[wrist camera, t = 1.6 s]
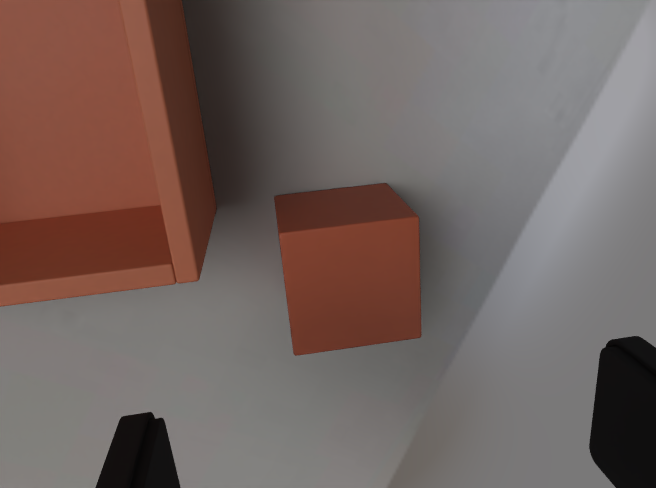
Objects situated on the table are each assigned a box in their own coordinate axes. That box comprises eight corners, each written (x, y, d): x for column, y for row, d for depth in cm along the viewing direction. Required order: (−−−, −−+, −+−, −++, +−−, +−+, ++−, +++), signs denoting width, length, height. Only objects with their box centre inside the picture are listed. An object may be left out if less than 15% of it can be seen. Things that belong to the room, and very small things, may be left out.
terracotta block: (386, 182, 20) (420, 216, 16) (391, 284, 22) (422, 338, 18) (274, 195, 20) (278, 233, 16) (286, 298, 21) (293, 356, 17)
